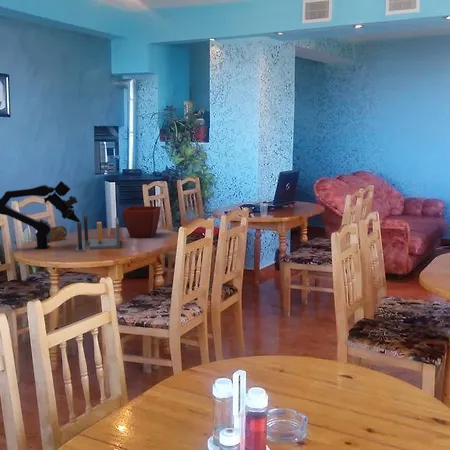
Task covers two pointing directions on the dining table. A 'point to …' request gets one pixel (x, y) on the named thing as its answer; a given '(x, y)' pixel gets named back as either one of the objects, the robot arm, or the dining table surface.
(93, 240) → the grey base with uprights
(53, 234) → the tin
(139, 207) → the plant pot
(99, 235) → the lever
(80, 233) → the stand
